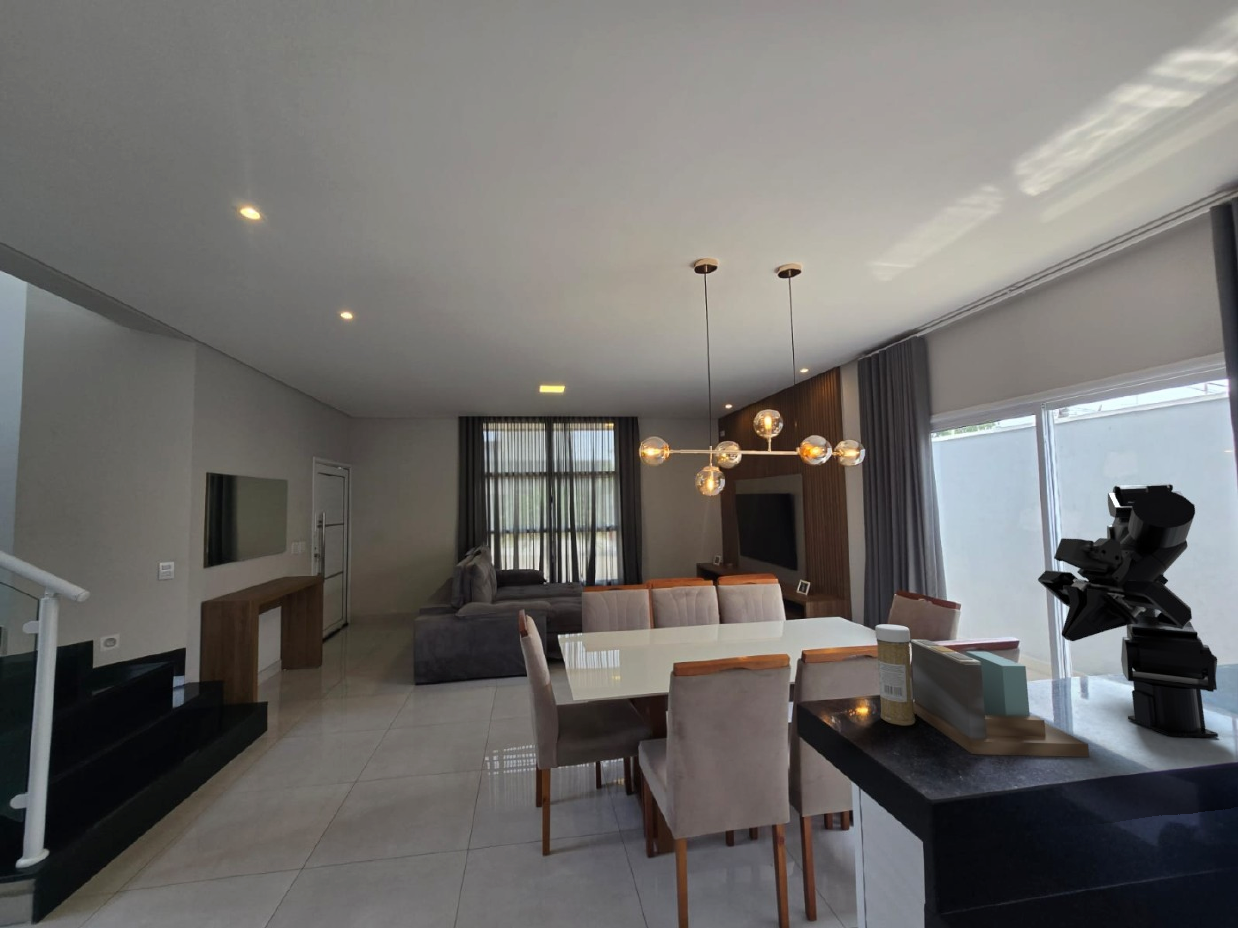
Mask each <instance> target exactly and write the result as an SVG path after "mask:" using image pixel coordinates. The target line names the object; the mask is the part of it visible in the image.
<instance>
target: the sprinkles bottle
mask: <svg viewBox="0 0 1238 928" xmlns="http://www.w3.org/2000/svg"><path fill="white" fill-rule="evenodd" d="M874 629H875V638H876V642H877V665H878V684H879V687H878V688H879V696H880V711H881V712H880V718H881V719H882V720H883V721H884V722H886V723H889V724H892V725H897V726H905V727H906V726H912V725H915V722H916V718H915V713H914V709H913V708H914V706H913V699H914V684H913V676H912V666H911V654H910V653H911V652H910V651H911V650H910V644H911V633H910V628H909V627H907V626H904V625H900V624H890V623H889V624H887V623H886V624H884V623H883V624H882V623H881V624H877V625H876V626H875V627H874Z"/></svg>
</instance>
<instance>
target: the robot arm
mask: <svg viewBox="0 0 1238 928" xmlns="http://www.w3.org/2000/svg"><path fill="white" fill-rule="evenodd" d="M1107 506H1108V507H1107V508H1108V513H1109V515H1110V517H1113V518H1114V519H1113V522H1112V524H1111V525H1110V524H1108V525H1107V526H1106V536H1107V537H1106V538H1102V537H1100V538H1098V539H1096V540H1095V541H1093V540H1087V539H1082V538H1066V537H1065V538H1064V537H1063V538H1060V541H1059V543H1058V546H1057V549H1056V551H1055V553H1054V556H1053V559H1054V560H1055V561H1058V562H1064V563H1066V564H1068V565H1071V566H1072V567H1075V568H1078V570H1077V571H1076V572H1077V573H1078V575H1080V576H1081V577H1082V578H1084V579H1082V578H1081V579H1080V578H1078V577H1077V576H1075V575H1074V573H1072V572H1070V571H1060V570H1045V571H1043V573H1042V574H1041V575H1040V576H1039V577H1038V578H1037V581H1038V582H1039V583H1040V584H1041V585H1042V586H1043V587H1044V588H1046V590H1047V591H1049V592H1050V594H1051V595H1053V596H1054V597H1055V598H1057V600H1059V601H1060V602H1061V603H1062V604H1063V605H1065V606H1067V608H1068V611H1067V615H1066V618H1065V621H1064V625H1063V627H1062V631H1061V636H1062V638H1064V639H1065V640H1066V641H1070V642H1076V641H1079V640H1082V639H1085V638H1088V637H1092V636H1094V635H1097V634H1101V633H1103V632H1108V631H1110V630H1114V629H1117V628H1122V627H1126V636H1123V637H1122V639H1121V640H1122V641H1121V642H1122V643H1121V653H1120V654H1121V657H1120V663H1121V667H1122V669H1121V670H1122V674H1123V676H1124V677H1125V679H1126V680H1127V681H1128V682H1132V683H1133V690H1131V697H1132V706H1133V715H1127V716H1126V717H1127V720H1129V721H1132V722H1134V723H1136V724H1138V725H1141V726H1144V727H1146V728H1149V729H1151V730H1152V731H1153V730H1154V731H1156V732H1158V733H1161V734H1163V735H1166V736H1170V737H1193V738H1196V737H1198V738H1199V737H1202V738H1218V737H1219V733H1218V732H1216V731H1213V730H1211V729H1208V728H1206V723H1205V722H1206V721H1205V715H1204V714H1205V713H1204V706H1203V698H1202V697H1203V696H1202V691H1207V692H1210V693H1211V692H1212V693H1214V691H1216V690H1218V686H1217V679H1216V675H1217V667H1218V666H1217V665H1218V657H1217V656H1216V655H1214V654H1213V653H1212V650H1211V648H1210V647H1209V645H1207V644H1203V642H1202V640H1201V638H1200V637H1199V636H1198V632H1197V631H1196V630H1195V628H1194V627H1193V625H1192V622H1191V621H1192V620H1193V616H1192V608H1191V607H1190V606H1189V605H1188V604H1187V603H1185V601H1183V600H1182V599H1181V598H1180V597H1179V596H1177V594H1175V593H1174V592H1173V591H1172V590H1171V589H1169V588H1168V586H1166V584H1167V583H1168V582H1169V579H1167V578H1166V576H1164V574H1165V572H1167V571H1168V570H1169V568H1170V567H1171V566H1172V565H1173V564H1174V563H1175V562H1176V561H1177V560H1178V558H1179V557H1181V555H1182V554H1183V553H1184V552H1185V551H1186V550H1187V549H1188V542H1187V538H1188V535H1189V532H1190V529H1191V527H1192V524H1193V520H1194V517H1195V515H1196V507H1195V504H1194V503H1193V502H1191V500H1189V499H1188V498H1187V497H1185V496H1184V494H1183V493H1182V492H1181V491H1179V490H1176V491H1174V486H1173V484H1171V483H1160V484H1159V483H1157V484H1155V483H1154V484H1126V485H1125V484H1124V485H1121V484H1120V485H1115V486H1114V487H1113V488H1112V492H1108V493H1107Z"/></svg>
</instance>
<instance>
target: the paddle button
mask: <svg viewBox="0 0 1238 928" xmlns="http://www.w3.org/2000/svg"><path fill="white" fill-rule="evenodd" d="M965 656H968V657H970V658H973V659H975V660H977V661H980V665H981V669H982V682H983V695H984V708H985V715H1014V716H1030V715H1031V714H1030V704H1029V692H1028V691H1029V689H1028V681H1027V669H1026V668H1027V667H1026V665H1024V664H1021V663H1017V662H1016V661H1013V660H1010V659H1007V658H1005V657H1002V656H999V655H997V654H994V653H993V652H992V653H991V652H988V651H972V650H971V651H965Z"/></svg>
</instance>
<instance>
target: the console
mask: <svg viewBox="0 0 1238 928" xmlns="http://www.w3.org/2000/svg"><path fill="white" fill-rule="evenodd" d="M910 648H911V650H910V651H911V664H912V666H911V667H912V684H913V706H914V708H913V709H914V715H916V714H917V715H916V716H917V717H919V718H920V719H922V720H923V721H925V723H928V724H929V725H930V726H931V727H933V728H935V729H936V730H937V731H939V732H940V733H942V734H943V735H944V736H946V737H948V738H949V739H951V741H953V742H954V743H956V744H958V745H959V746H960V747H962V748H963V749H965V750H966V751H967V752H969V753H970V754H971V755H991V756H992V755H993V756H994V755H996V756H998V755H1002V756H1036V757H1038V756H1039V757H1043V756H1044V757H1081V758H1083V757H1085V758H1089V757H1090V751H1089V750H1090V749H1089V743H1087V742H1085V741H1083V740H1081V739H1080V738H1077V737H1075V736H1073V735H1071V734H1069V733H1067V732H1065V731H1063V730H1061V729H1059V728H1057V727H1055V726H1053V725H1051V724H1049V723H1047V722H1046V721H1045V719H1043V718H1041V717H1039V716H1037V715H1031V714H1030V716H1014V715H985V708H984V695H983V682H982V669H981V665H980V661H977V660H975V659H973V658H970V657H968V656H966V654H963V653H960V652H957V651H956V650H953V649H950V648H948V647H946V646H943V645H941V644H938V643H936V642H933V641H931V640H929V639H910Z"/></svg>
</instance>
